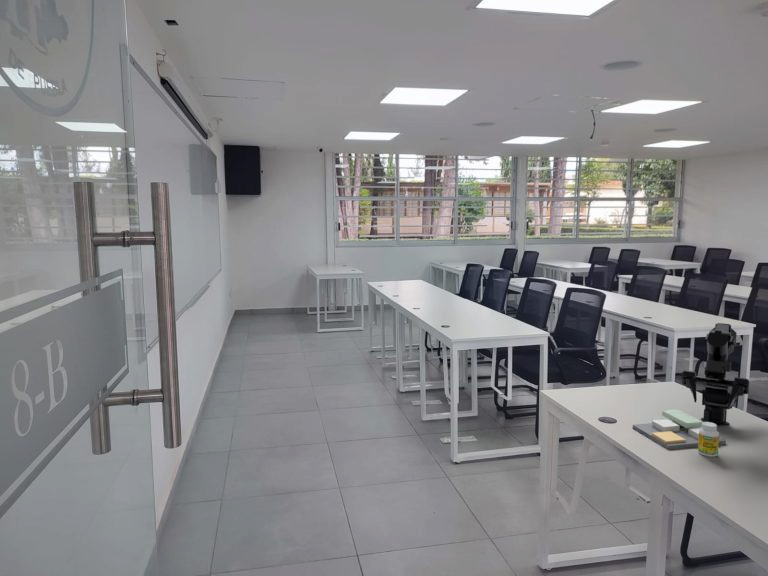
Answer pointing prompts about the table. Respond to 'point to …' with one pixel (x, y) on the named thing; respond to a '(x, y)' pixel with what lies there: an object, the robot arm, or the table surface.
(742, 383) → the robot arm
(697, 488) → the table surface
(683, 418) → the green key
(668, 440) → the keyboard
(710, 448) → the supplement bottle
